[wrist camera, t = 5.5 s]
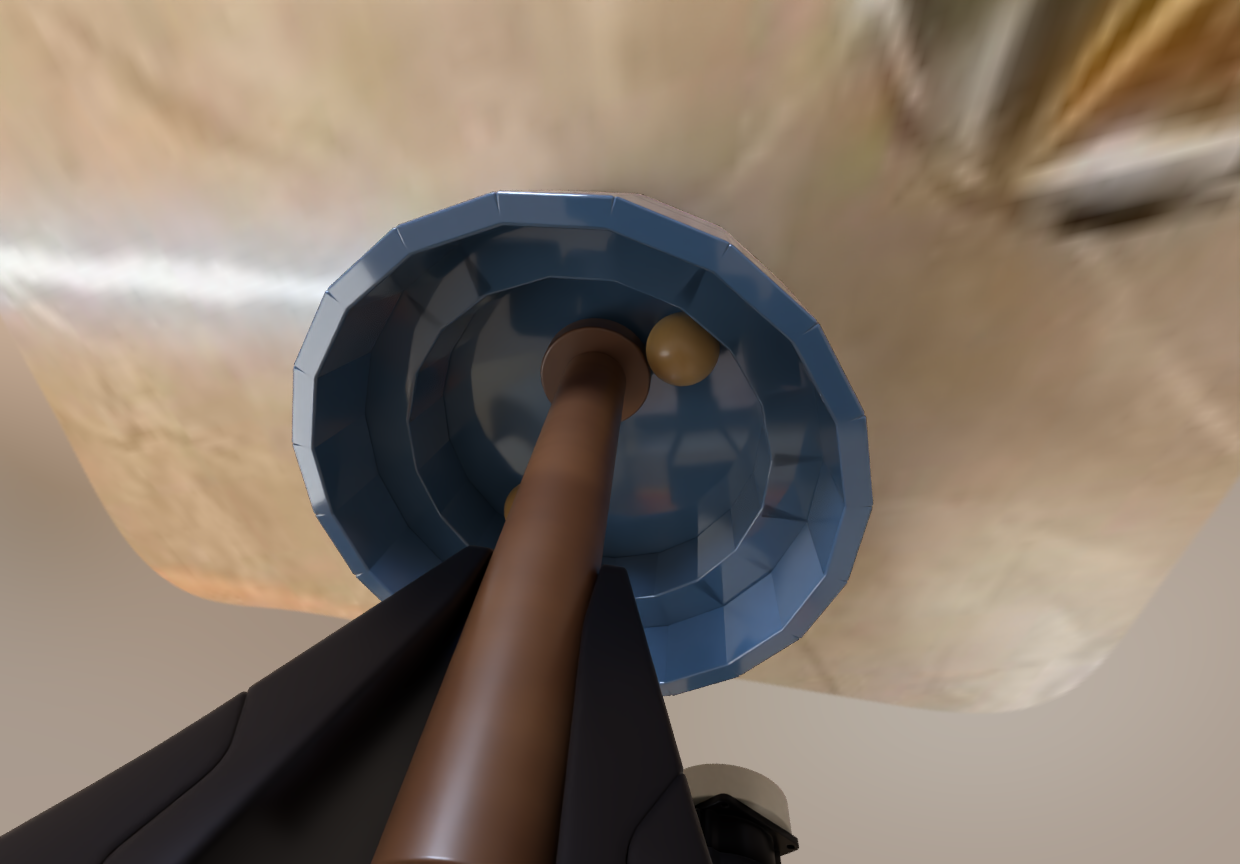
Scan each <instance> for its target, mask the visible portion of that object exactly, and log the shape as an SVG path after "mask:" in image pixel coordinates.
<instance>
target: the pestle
mask: <svg viewBox="0 0 1240 864" xmlns="http://www.w3.org/2000/svg"><path fill="white" fill-rule="evenodd" d="M540 375H541V383H542V387H543V390H544V392H545V394H546V396H547V398H548V400H549V401H550V403H551V407H550V409H549V412H548V414H547V417H546V419H545V422H544V425H543V427H542V430H541V432H540V435H539V437H538V440H537V442H536V445H535V447H534V450H533V452H532V455H531V458H530V460H529V463H528V465H527V468H526V470H525V473H524V475H523V478H522V480H521V483H520V485H519V488H518V491H517V493H516V496H515V498H514V501H513V503H512V506H511V508H510V511H509V513H508V516H507V518H506V521H505V524H504V526H503V529H502V531H501V534H500V536H499V539H498V541H497V544H496V546H495V549H494V551H493V554H492V557H491V559H490V562H489V564H488V567H487V569H486V572H485V574H484V577H483V579H482V582H481V585H480V587H479V590H478V592H477V595H476V597H475V600H474V602H473V605H472V607H471V610H470V612H469V615H468V618H467V620H466V623H465V625H464V628H463V630H462V633H461V635H460V638H459V640H458V643H457V645H456V648H455V651H454V653H453V656H452V658H451V661H450V663H449V666H448V668H447V671H446V673H445V676H444V678H443V681H442V684H441V686H440V689H439V691H438V694H437V696H436V699H435V701H434V704H433V706H432V709H431V711H430V714H429V717H428V719H427V722H426V724H425V727H424V729H423V732H422V734H421V737H420V739H419V742H418V744H417V747H416V750H415V752H414V755H413V757H412V760H411V762H410V765H409V767H408V770H407V772H406V775H405V777H404V780H403V783H402V785H401V788H400V790H399V793H398V795H397V798H396V800H395V803H394V805H393V808H392V811H391V813H390V816H389V818H388V821H387V823H386V826H385V828H384V831H383V833H382V836H381V838H380V841H379V844H378V846H377V849H376V851H375V854H374V856H373V859H372V861H371V864H556V857H557V849H558V840H559V831H560V822H561V813H562V804H563V795H564V786H565V777H566V768H567V759H568V750H569V741H570V732H571V723H572V714H573V705H574V696H575V687H576V678H577V669H578V660H579V651H580V643H581V634H582V628H583V623H584V619H585V615H586V612H587V608H588V605H589V602H590V599H591V596H592V593H593V589H594V586H595V583H596V580H597V577H598V573H599V570H600V568H601V562H602V555H603V548H604V541H605V533H606V526H607V519H608V511H609V504H610V497H611V490H612V482H613V475H614V468H615V460H616V453H617V446H618V439H619V431H620V424H621V422H622V421H624V420H626V419H628V418H629V417H631V416H632V415H633V414H635V413H636V412H637V411H638V410H639V409H640V407H641V406H642V405H643V403H644V402H645V400H646V398H647V396H648V393H649V389H650V382H651V368H650V366H649V364H648V361H647V357H646V348H645V346H644V344H643V343H642V342H641V340H640V339H639V338H638V337H637V336H636V335H635V334H634V333H633V332H632V331H631V330H630V329H628V328H626V327H625V326H623V325H621V324H619V323H617V322H614V321H611V320H607V319H601V318H589V319H583V320H579V321H576V322H573V323H571V324H569V325H567V326H566V327H564V328H563V329H561V330H560V331H559V332H558V333H557V334H556V335H555V337H554V338H553V339H552V341H551V343H550V344H549V346H548V348H547V350H546V352H545V354H544V357H543V359H542V363H541V370H540Z"/></svg>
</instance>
